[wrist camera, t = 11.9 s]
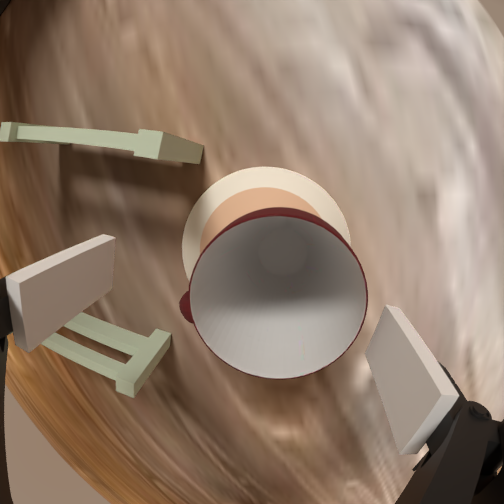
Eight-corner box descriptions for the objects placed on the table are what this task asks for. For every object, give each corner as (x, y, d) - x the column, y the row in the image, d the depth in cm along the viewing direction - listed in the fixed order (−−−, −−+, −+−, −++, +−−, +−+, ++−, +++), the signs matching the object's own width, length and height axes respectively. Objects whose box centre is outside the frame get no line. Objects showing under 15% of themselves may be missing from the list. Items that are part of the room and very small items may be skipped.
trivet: (175, 304, 26) (171, 309, 25) (202, 151, 23) (198, 150, 22) (321, 342, 25) (322, 347, 24) (368, 191, 22) (371, 192, 21)
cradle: (49, 299, 28) (0, 328, 20) (61, 128, 24) (1, 122, 16) (169, 346, 27) (133, 398, 20) (203, 145, 23) (163, 131, 15)
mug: (236, 330, 25) (207, 412, 15) (183, 246, 24) (118, 292, 14) (354, 271, 23) (393, 336, 13) (304, 176, 21) (316, 176, 12)
